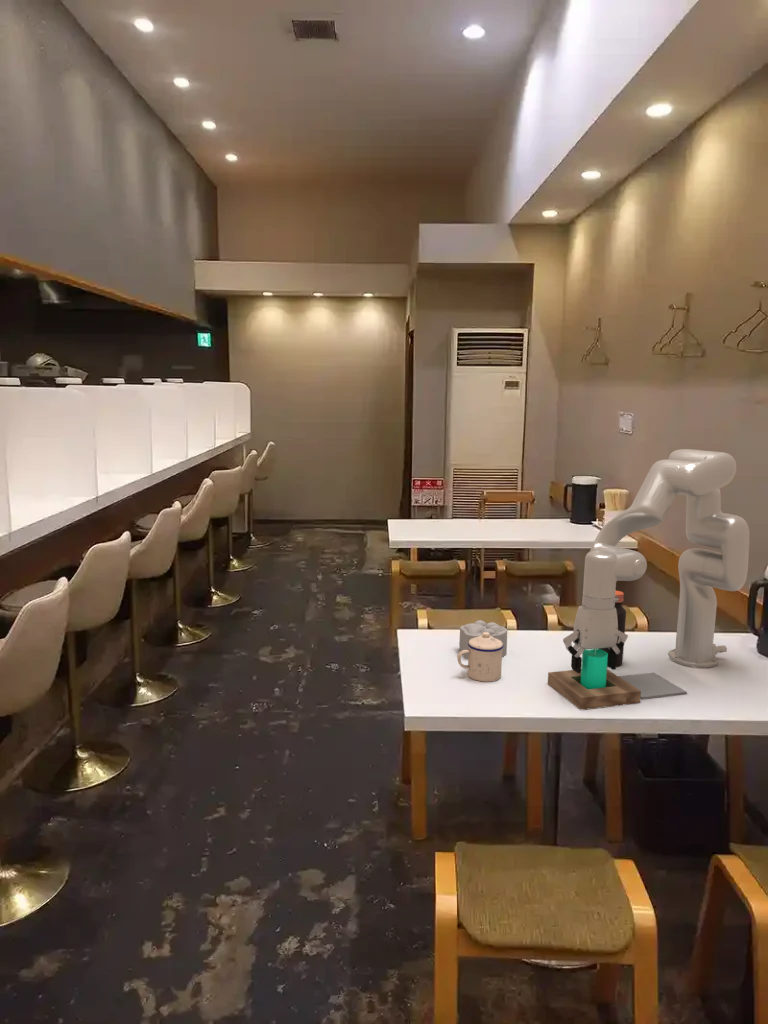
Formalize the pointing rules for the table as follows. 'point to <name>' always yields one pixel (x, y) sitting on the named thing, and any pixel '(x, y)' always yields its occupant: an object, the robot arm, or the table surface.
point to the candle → (594, 668)
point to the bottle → (619, 623)
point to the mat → (653, 685)
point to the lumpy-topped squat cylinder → (477, 630)
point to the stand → (593, 690)
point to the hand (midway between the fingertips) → (593, 669)
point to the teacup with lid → (483, 658)
